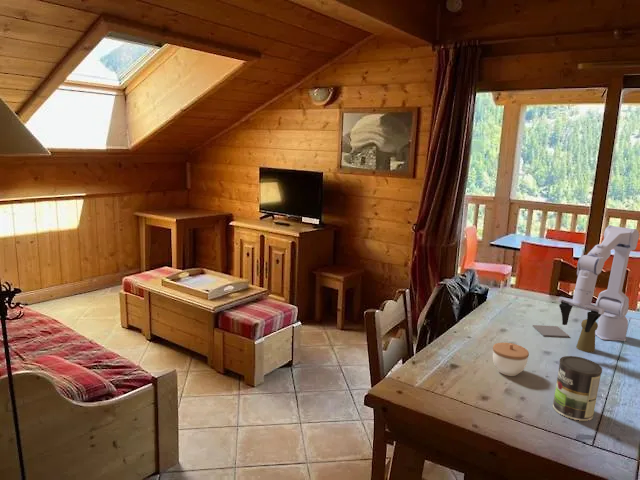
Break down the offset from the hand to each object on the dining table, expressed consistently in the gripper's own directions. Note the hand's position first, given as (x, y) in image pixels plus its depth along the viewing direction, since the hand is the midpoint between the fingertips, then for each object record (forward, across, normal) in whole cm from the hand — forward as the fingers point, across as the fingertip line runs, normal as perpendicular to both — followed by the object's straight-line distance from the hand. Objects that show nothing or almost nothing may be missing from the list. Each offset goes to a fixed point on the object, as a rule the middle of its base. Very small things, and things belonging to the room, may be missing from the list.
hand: (575, 328), depth 166 cm
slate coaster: (+8, -16, +17) cm, 25 cm away
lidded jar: (+15, -6, -28) cm, 32 cm away
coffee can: (+16, +18, -34) cm, 41 cm away
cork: (+9, 0, +13) cm, 16 cm away
